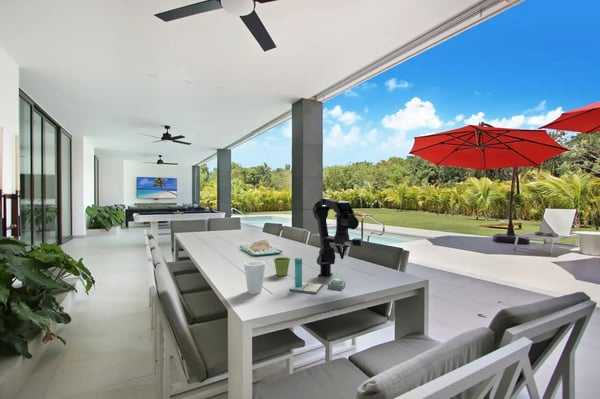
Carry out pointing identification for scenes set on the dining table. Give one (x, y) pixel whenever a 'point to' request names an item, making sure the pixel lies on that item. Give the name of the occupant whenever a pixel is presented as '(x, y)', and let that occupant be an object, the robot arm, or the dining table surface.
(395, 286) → the dining table surface
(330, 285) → the button housing
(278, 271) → the plant pot
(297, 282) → the cylinder
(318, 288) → the patchwork square coaster
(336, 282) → the button
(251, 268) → the foam cup
